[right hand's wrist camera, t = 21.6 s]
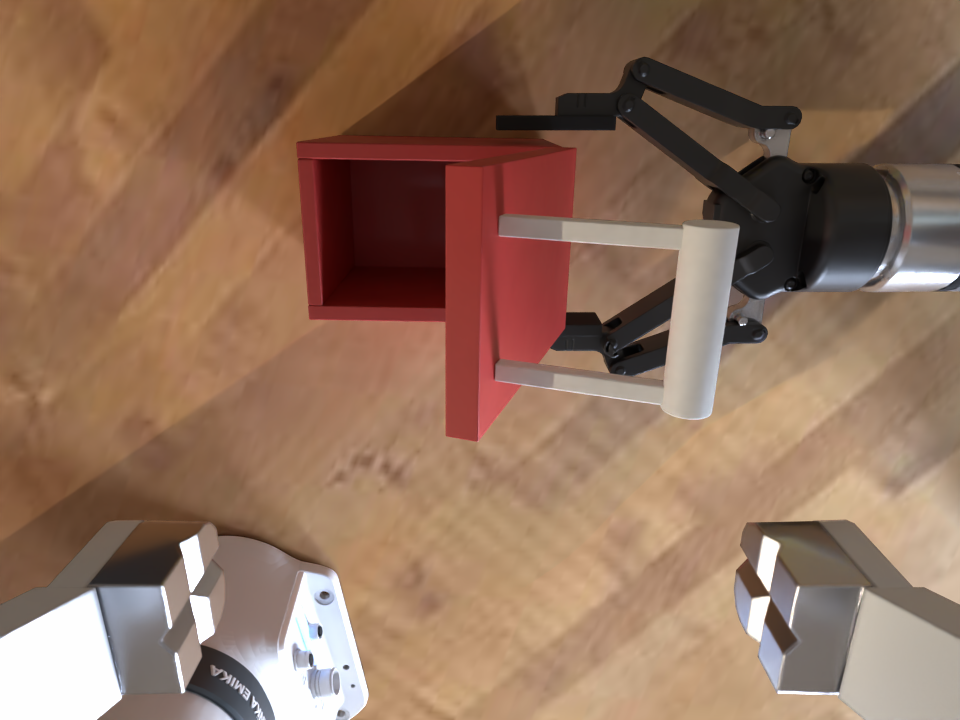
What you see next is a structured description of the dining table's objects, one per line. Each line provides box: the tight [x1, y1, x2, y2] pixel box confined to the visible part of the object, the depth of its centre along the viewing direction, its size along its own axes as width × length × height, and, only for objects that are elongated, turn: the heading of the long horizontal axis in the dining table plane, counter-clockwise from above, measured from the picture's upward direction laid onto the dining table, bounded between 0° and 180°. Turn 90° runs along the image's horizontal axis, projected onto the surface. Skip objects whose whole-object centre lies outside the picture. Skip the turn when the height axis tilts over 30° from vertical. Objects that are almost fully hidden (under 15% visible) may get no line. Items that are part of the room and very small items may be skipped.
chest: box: [296, 135, 561, 322], centre depth 41 cm, size 14×10×11 cm
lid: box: [446, 147, 740, 442], centre depth 28 cm, size 15×10×9 cm
